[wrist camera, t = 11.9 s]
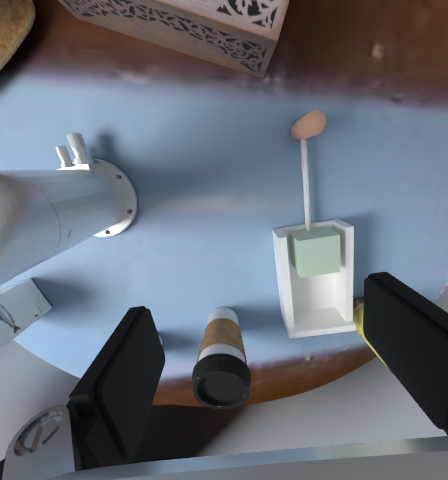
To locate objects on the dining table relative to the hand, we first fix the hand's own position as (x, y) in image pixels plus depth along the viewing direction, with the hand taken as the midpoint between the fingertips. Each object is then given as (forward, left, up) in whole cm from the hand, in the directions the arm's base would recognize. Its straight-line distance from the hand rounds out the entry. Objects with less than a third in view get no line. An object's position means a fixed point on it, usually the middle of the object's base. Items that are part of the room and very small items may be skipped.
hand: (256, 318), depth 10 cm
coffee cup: (+22, -6, -28) cm, 36 cm away
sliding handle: (0, +11, -28) cm, 30 cm away
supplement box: (+11, -43, -28) cm, 53 cm away
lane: (+14, +11, -28) cm, 33 cm away
